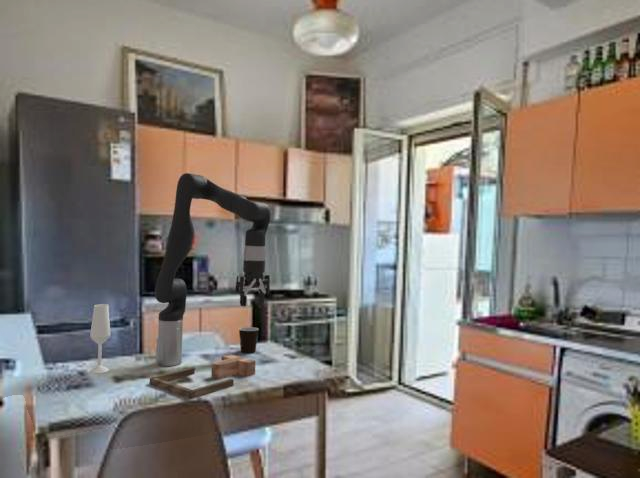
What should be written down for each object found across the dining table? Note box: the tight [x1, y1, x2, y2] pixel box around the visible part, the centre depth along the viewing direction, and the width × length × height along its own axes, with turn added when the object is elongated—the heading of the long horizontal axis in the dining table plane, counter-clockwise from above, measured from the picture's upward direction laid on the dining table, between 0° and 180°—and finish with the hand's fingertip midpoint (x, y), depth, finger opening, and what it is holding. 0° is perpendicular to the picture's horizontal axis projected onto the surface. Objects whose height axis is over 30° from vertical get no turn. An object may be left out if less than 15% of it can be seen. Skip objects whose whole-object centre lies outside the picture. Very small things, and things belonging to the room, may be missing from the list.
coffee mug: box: [238, 326, 259, 354], centre depth 206 cm, size 12×9×10 cm
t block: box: [211, 353, 256, 380], centre depth 170 cm, size 14×13×5 cm
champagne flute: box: [88, 303, 111, 374], centre depth 170 cm, size 7×7×24 cm
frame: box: [149, 367, 234, 399], centre depth 156 cm, size 22×18×2 cm
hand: (252, 305), depth 162 cm, fingers open, 8 cm apart
